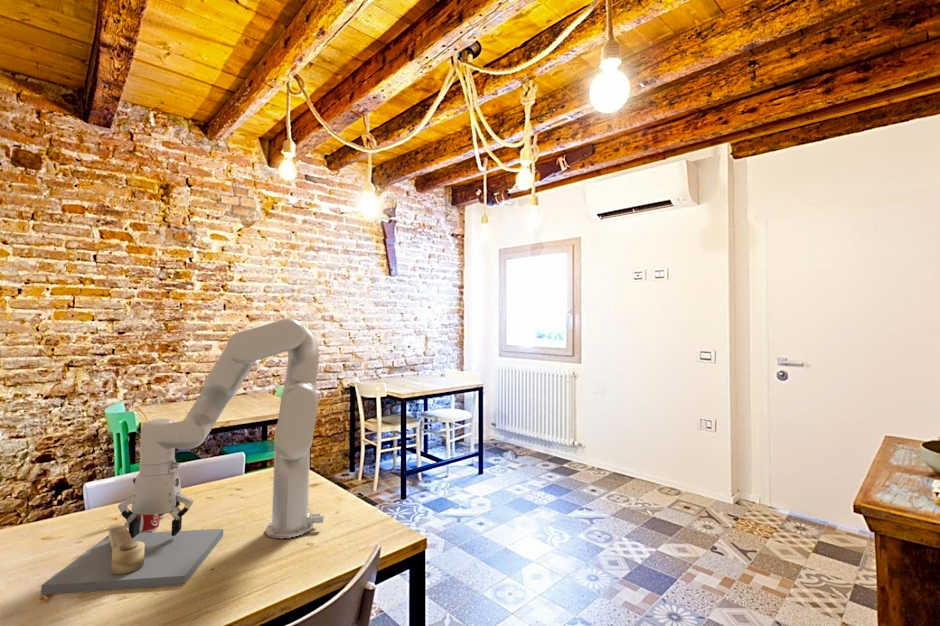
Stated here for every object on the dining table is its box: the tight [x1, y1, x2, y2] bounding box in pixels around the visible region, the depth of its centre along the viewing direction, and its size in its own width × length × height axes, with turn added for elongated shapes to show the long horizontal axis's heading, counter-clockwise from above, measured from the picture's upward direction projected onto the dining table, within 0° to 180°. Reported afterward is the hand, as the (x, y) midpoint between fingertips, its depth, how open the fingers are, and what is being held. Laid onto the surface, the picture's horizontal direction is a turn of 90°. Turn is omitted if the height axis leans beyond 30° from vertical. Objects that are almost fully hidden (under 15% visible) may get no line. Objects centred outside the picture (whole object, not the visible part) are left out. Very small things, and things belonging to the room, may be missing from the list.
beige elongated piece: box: [108, 522, 145, 574], centre depth 111 cm, size 6×21×5 cm, turn 44°
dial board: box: [40, 528, 224, 596], centre depth 112 cm, size 28×24×2 cm
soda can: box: [138, 514, 160, 533], centre depth 130 cm, size 5×5×12 cm
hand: (155, 534), depth 119 cm, fingers open, 9 cm apart
